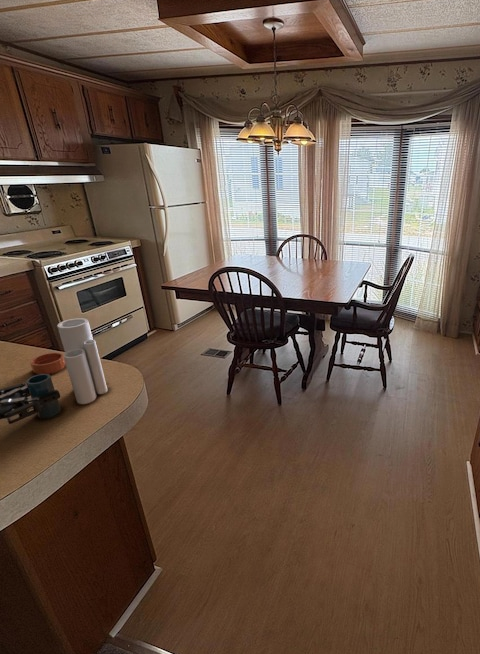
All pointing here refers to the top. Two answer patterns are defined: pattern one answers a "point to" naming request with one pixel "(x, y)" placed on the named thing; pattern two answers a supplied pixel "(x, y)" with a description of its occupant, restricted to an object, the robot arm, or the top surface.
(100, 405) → the top surface
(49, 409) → the cup
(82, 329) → the vase
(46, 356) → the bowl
